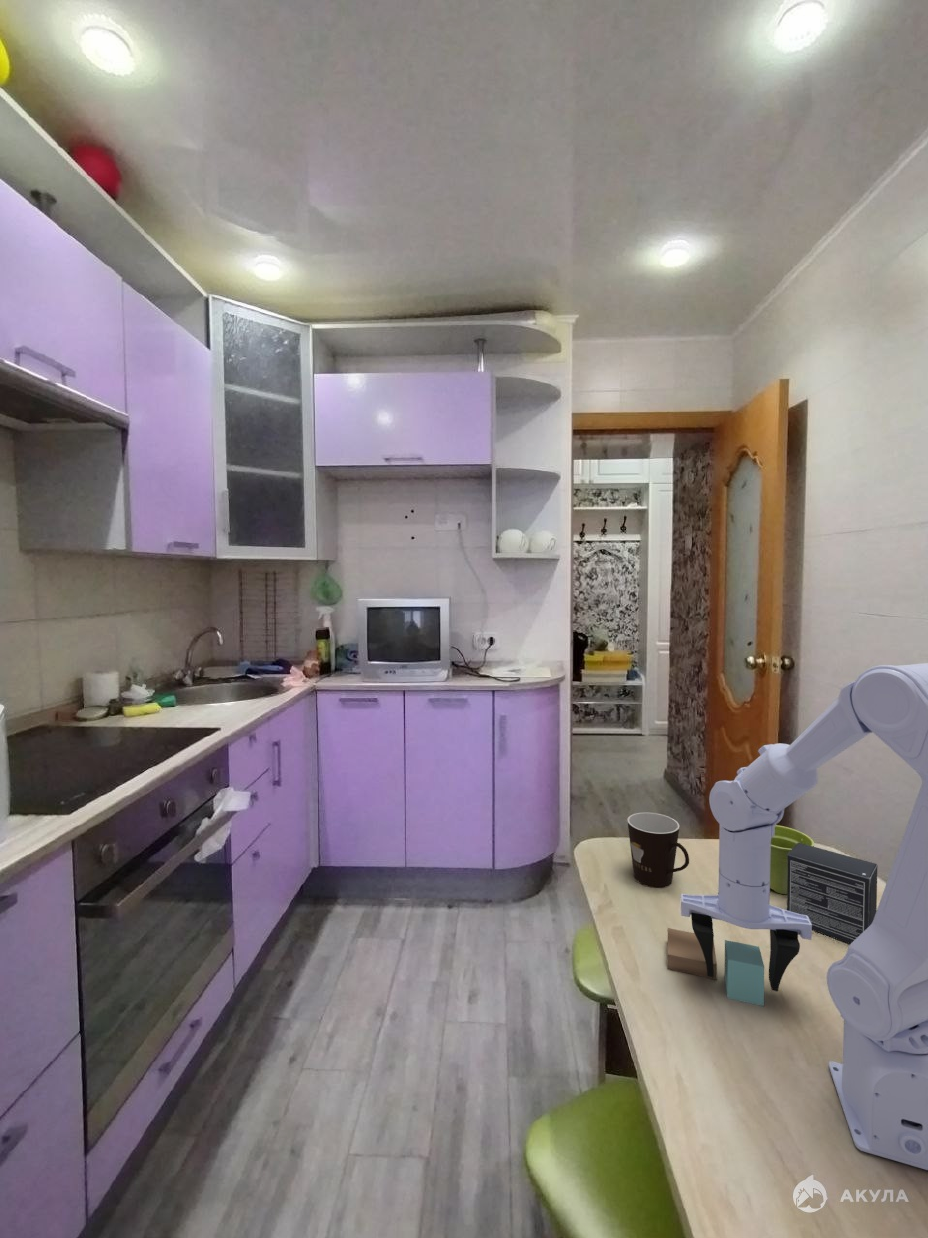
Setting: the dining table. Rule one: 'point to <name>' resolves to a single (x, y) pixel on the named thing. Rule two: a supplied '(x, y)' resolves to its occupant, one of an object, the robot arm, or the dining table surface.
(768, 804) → the robot arm
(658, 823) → the coffee mug
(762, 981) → the teal brick
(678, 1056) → the dining table surface
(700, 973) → the base brick
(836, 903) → the small box
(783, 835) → the plant pot
